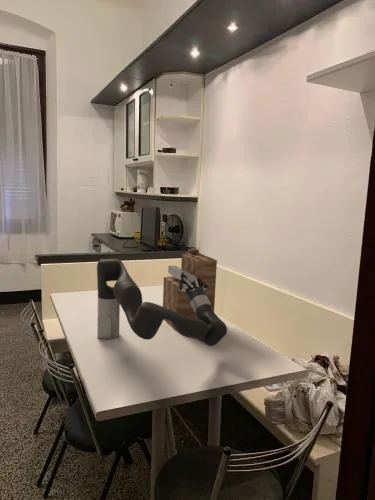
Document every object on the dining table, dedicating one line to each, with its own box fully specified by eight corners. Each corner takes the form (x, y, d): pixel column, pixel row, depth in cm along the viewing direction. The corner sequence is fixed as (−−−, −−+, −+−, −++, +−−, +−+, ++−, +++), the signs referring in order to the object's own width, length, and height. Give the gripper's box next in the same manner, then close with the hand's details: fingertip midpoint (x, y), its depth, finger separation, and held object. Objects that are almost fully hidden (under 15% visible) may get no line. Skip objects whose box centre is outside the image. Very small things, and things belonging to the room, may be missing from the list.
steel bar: (195, 283, 169) (195, 276, 168) (187, 284, 167) (188, 276, 167) (174, 272, 190) (175, 265, 190) (168, 272, 189) (168, 265, 189)
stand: (213, 326, 184) (217, 254, 179) (175, 331, 177) (178, 256, 171) (197, 314, 200) (200, 248, 195) (162, 318, 193) (164, 249, 188)
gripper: (217, 294, 161) (202, 266, 174) (185, 296, 156) (173, 268, 168) (212, 306, 166) (198, 279, 178) (181, 309, 160) (169, 280, 172)
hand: (186, 274), depth 173 cm, fingers closed on steel bar, 3 cm apart
